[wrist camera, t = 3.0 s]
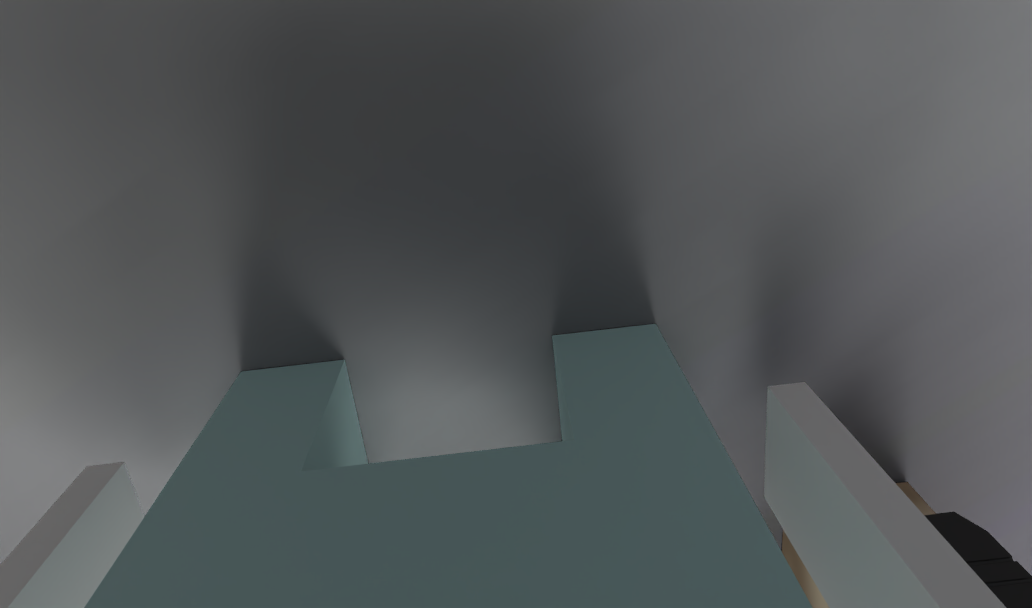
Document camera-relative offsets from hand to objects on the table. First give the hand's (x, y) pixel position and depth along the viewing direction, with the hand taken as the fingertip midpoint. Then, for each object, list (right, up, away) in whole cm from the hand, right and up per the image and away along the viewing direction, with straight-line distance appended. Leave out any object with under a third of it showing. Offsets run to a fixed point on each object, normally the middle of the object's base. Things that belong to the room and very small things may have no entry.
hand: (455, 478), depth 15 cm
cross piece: (0, +1, +1) cm, 2 cm away
